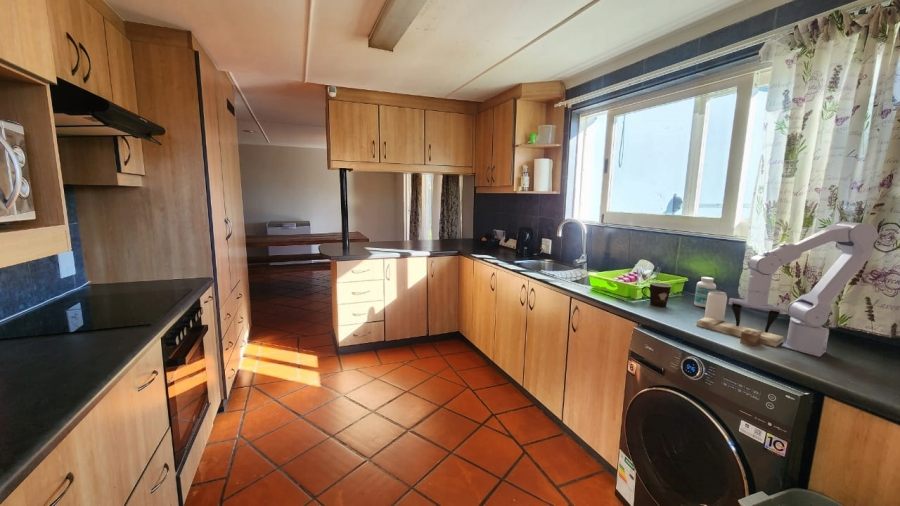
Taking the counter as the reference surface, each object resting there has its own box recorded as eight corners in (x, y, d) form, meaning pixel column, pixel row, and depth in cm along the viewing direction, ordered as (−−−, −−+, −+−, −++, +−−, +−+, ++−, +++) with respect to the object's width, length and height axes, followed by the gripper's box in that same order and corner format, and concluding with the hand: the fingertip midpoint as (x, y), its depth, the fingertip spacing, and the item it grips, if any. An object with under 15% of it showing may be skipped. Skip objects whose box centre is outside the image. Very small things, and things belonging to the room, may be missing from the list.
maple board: (782, 342, 127) (783, 336, 127) (775, 347, 123) (776, 340, 122) (705, 321, 146) (705, 316, 146) (696, 325, 142) (697, 320, 142)
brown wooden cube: (759, 344, 125) (761, 332, 124) (754, 347, 122) (756, 335, 122) (745, 340, 128) (746, 329, 128) (739, 343, 126) (741, 331, 125)
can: (726, 323, 145) (731, 294, 143) (708, 321, 146) (713, 293, 145) (718, 318, 151) (722, 290, 150) (701, 316, 153) (705, 289, 151)
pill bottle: (690, 304, 171) (693, 276, 169) (701, 303, 173) (705, 275, 171) (705, 309, 164) (709, 280, 162) (717, 307, 166) (721, 279, 164)
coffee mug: (669, 304, 169) (671, 284, 167) (668, 309, 162) (671, 287, 160) (641, 300, 175) (643, 280, 174) (639, 304, 168) (641, 284, 166)
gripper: (787, 292, 120) (780, 331, 122) (733, 284, 130) (727, 320, 132) (786, 296, 115) (779, 337, 117) (730, 287, 125) (724, 324, 127)
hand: (751, 328), depth 124 cm, fingers open, 7 cm apart
